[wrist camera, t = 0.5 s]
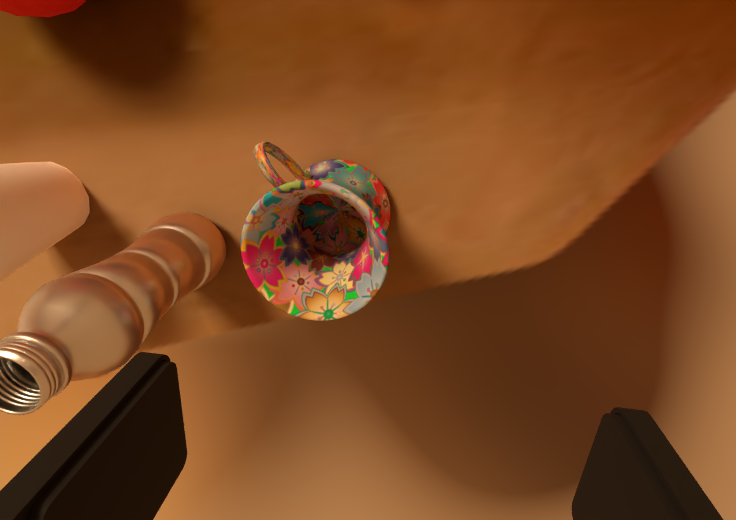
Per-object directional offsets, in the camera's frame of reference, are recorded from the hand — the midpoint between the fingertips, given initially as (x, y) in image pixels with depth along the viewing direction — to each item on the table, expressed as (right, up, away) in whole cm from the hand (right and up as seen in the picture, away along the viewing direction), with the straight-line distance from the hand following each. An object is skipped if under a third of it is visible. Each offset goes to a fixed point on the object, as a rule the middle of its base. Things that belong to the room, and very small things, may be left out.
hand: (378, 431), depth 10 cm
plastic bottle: (-15, +6, +30) cm, 34 cm away
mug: (-3, +9, +27) cm, 29 cm away
